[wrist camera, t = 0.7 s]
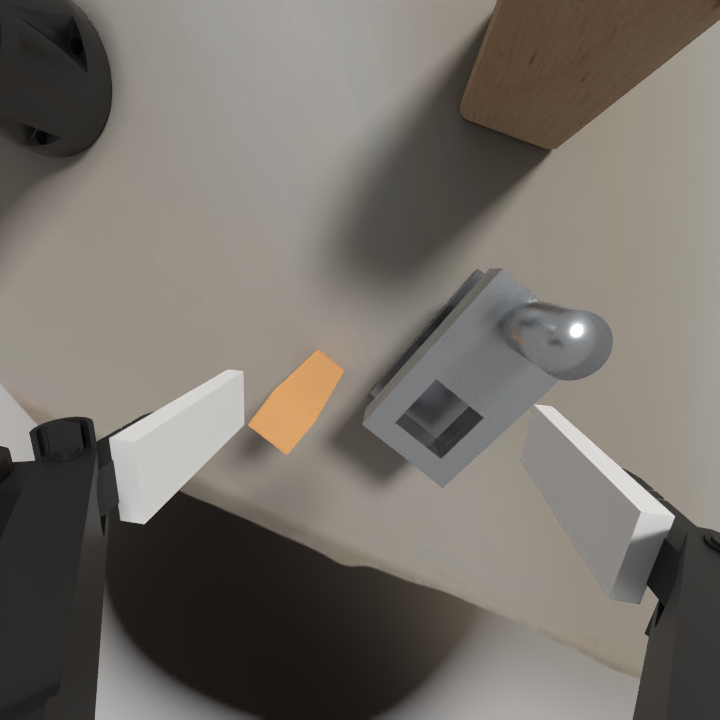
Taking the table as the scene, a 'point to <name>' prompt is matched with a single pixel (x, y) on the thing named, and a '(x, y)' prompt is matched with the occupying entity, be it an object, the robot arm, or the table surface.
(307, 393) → the orange square bar
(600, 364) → the grey slotted stand
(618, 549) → the robot arm
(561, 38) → the wooden block
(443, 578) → the table surface
